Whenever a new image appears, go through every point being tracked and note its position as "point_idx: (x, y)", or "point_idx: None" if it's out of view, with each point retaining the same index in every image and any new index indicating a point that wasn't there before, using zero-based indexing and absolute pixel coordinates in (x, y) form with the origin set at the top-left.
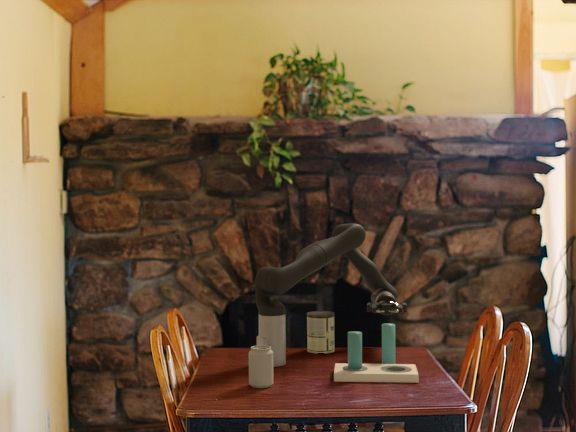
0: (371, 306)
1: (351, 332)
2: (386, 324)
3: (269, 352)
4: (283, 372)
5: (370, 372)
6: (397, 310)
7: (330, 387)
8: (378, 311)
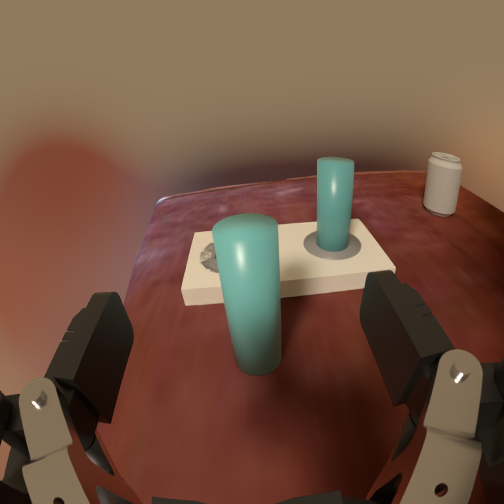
0: (479, 380)
1: (344, 161)
2: (254, 225)
3: (430, 158)
4: (470, 258)
5: (291, 229)
6: (104, 451)
7: None
8: (378, 479)
